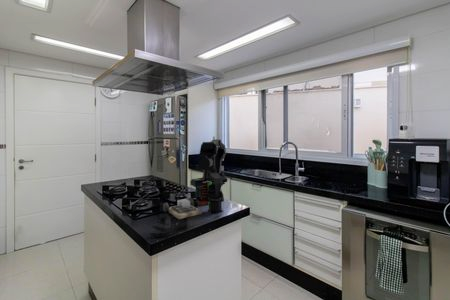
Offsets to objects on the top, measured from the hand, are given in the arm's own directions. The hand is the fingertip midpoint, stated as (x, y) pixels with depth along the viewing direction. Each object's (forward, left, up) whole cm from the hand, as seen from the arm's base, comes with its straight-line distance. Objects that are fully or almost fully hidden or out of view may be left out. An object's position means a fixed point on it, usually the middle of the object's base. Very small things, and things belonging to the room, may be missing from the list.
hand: (209, 197), depth 115 cm
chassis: (+5, -20, -12) cm, 24 cm away
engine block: (+5, -20, -10) cm, 23 cm away
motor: (-13, -28, -12) cm, 33 cm away
